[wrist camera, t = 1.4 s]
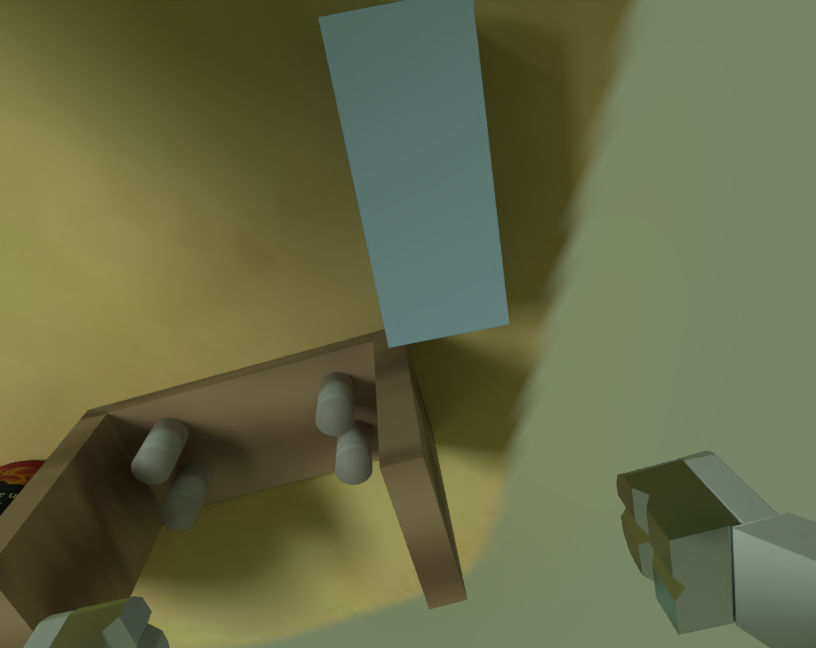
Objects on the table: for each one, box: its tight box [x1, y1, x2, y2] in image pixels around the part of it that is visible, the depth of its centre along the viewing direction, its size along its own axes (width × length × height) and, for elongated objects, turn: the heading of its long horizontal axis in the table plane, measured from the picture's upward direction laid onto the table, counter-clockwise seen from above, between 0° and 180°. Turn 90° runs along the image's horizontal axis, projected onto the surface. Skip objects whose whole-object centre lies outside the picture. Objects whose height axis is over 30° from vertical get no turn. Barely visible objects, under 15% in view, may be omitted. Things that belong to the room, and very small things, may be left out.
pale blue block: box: [318, 0, 509, 348], centre depth 23 cm, size 12×5×6 cm, turn 10°
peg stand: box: [0, 330, 467, 648], centre depth 25 cm, size 7×17×11 cm, turn 105°
